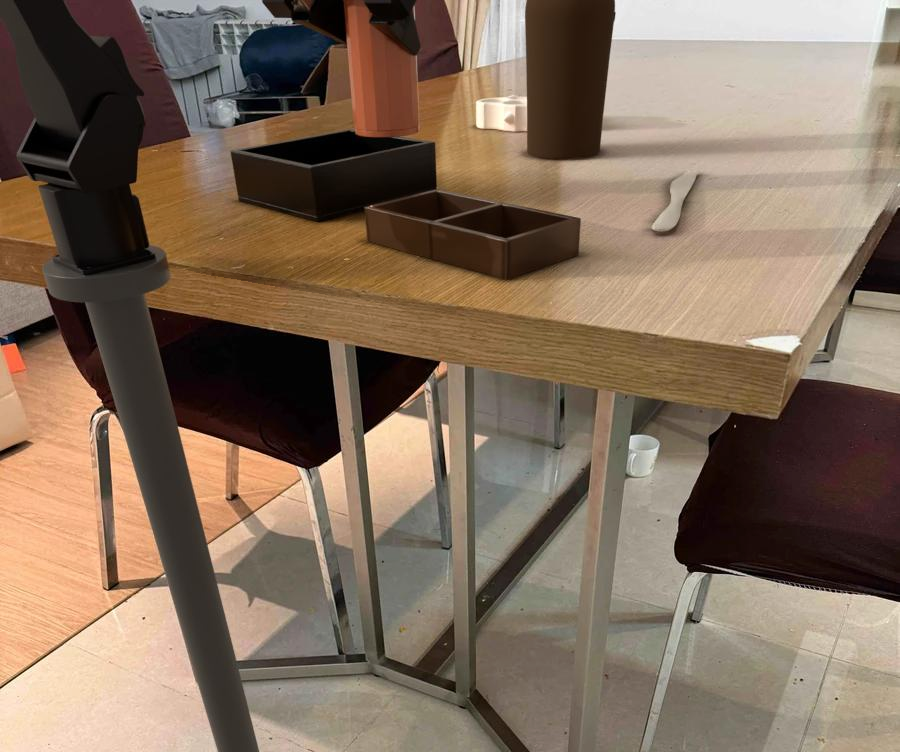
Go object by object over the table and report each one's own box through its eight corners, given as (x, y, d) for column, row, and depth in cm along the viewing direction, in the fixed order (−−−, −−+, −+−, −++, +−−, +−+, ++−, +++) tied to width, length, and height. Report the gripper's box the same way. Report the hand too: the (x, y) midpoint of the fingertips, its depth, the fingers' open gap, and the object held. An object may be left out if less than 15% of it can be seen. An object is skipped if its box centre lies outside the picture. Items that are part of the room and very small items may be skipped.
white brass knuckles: (607, 119, 129) (584, 135, 118) (496, 116, 134) (464, 131, 124) (608, 93, 127) (585, 108, 116) (496, 92, 132) (464, 105, 122)
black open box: (317, 222, 85) (310, 167, 81) (238, 201, 93) (229, 150, 90) (437, 192, 93) (435, 141, 90) (355, 175, 102) (351, 128, 99)
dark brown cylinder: (558, 164, 103) (569, -100, 88) (506, 152, 110) (508, -94, 95) (621, 152, 108) (643, -101, 93) (567, 142, 115) (579, -95, 100)
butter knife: (640, 226, 77) (673, 226, 76) (678, 169, 97) (705, 169, 96) (640, 233, 77) (673, 232, 76) (678, 175, 97) (705, 174, 96)
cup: (417, 136, 86) (411, -9, 78) (351, 138, 86) (339, -6, 79) (421, 126, 91) (415, -11, 84) (358, 127, 91) (347, -9, 84)
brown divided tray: (506, 280, 68) (506, 241, 66) (367, 241, 78) (363, 206, 76) (578, 254, 73) (581, 217, 71) (438, 221, 83) (437, 188, 81)
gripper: (414, -191, 67) (499, -23, 80) (265, -166, 77) (362, -21, 90) (352, -64, 67) (447, 83, 80) (211, -56, 77) (316, 73, 90)
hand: (391, 50), depth 85 cm, fingers closed on cup, 7 cm apart
